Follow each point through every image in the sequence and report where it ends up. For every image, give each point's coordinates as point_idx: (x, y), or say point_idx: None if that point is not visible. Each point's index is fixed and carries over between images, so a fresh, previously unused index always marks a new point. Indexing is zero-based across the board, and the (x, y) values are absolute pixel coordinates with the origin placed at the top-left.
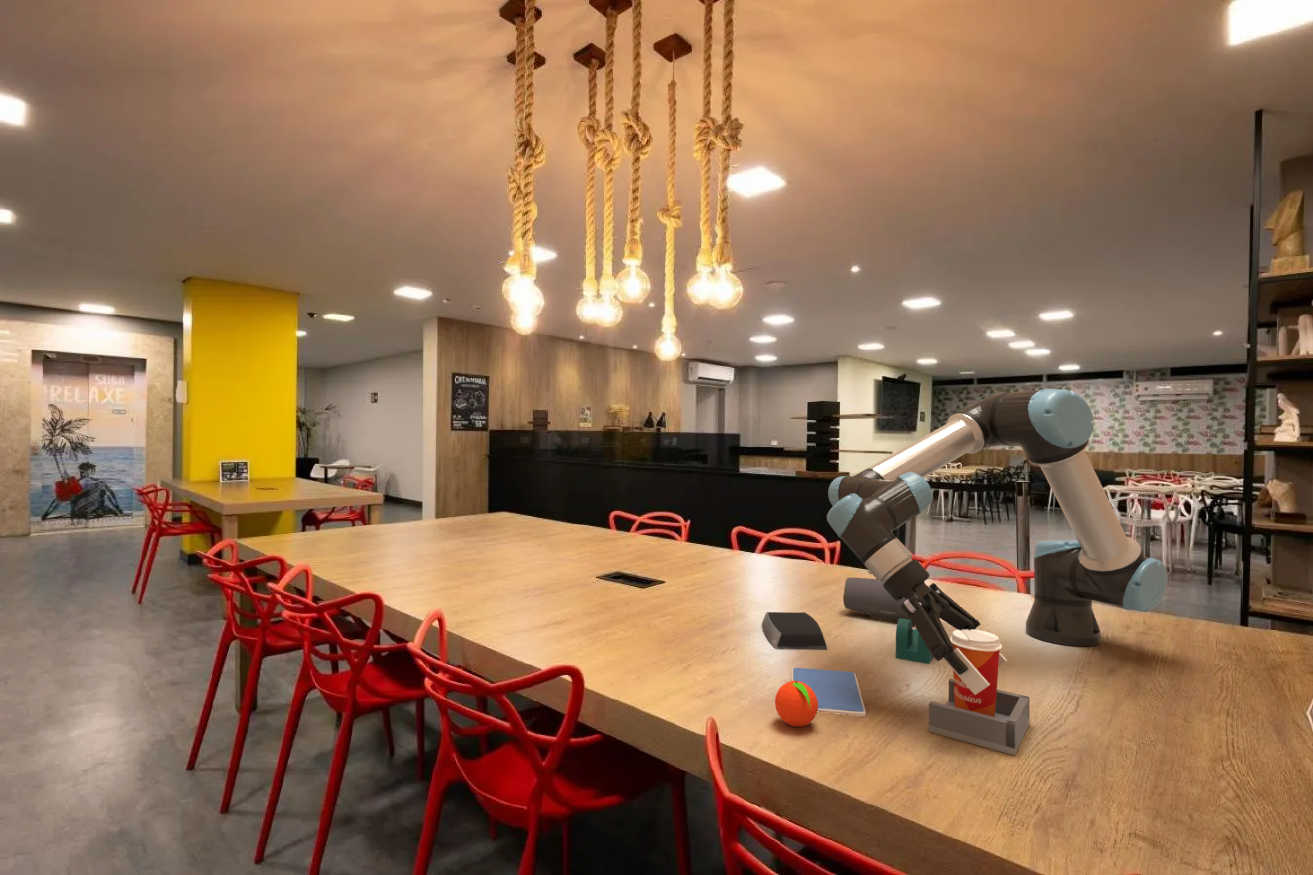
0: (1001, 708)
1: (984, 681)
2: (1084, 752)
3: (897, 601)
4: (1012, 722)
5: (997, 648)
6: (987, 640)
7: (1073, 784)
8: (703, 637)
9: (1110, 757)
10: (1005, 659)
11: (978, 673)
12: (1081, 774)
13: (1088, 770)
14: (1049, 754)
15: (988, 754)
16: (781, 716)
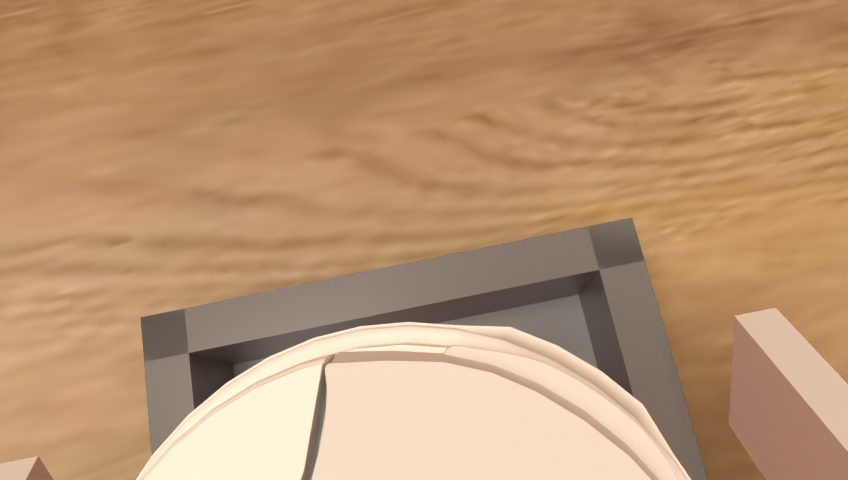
0: None
1: (797, 337)
2: (331, 90)
3: None
4: (603, 240)
5: (466, 330)
6: (526, 443)
7: (648, 33)
8: None
9: (300, 20)
10: (9, 470)
11: (840, 385)
12: (541, 40)
13: (484, 35)
14: (464, 169)
15: (690, 338)
16: None
